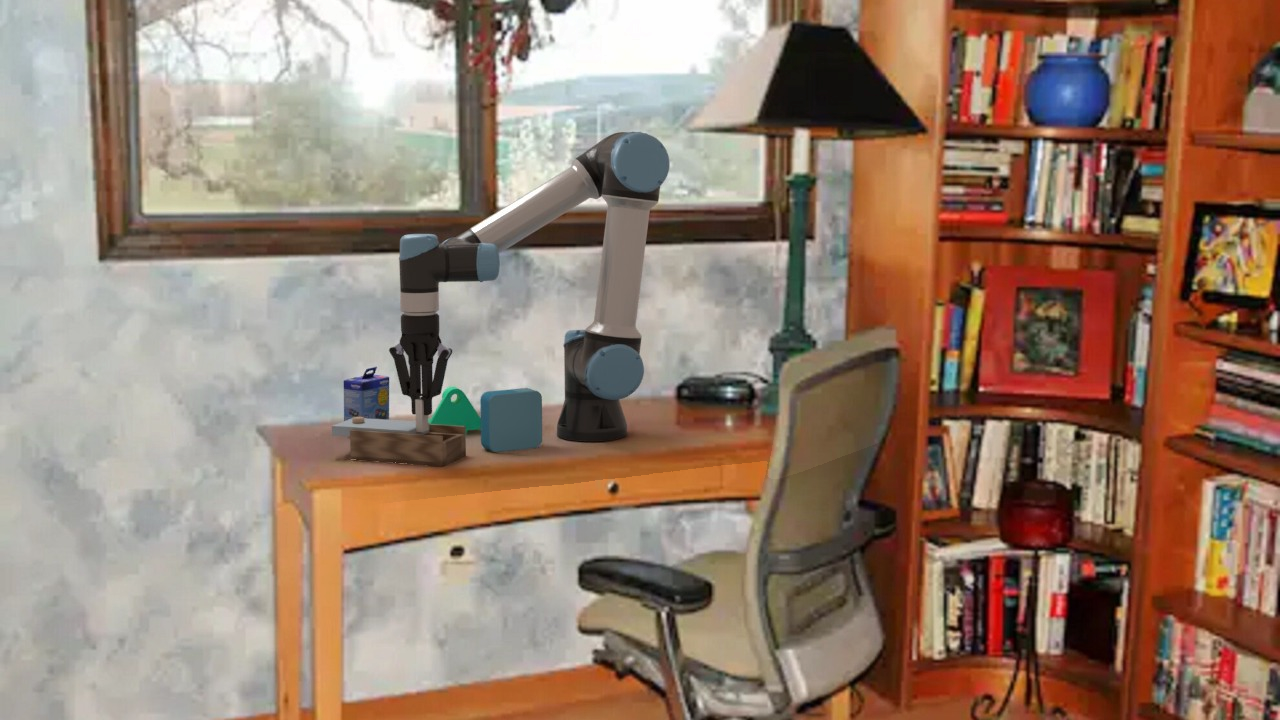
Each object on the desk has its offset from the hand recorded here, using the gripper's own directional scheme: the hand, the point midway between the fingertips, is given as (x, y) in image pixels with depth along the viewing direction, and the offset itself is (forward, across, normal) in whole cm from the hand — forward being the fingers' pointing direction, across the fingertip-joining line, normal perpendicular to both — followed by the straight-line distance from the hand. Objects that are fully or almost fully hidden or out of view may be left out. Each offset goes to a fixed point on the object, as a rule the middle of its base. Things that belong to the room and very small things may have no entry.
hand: (422, 430), depth 305 cm
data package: (+6, -13, -15) cm, 21 cm away
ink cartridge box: (+6, +23, -20) cm, 31 cm away
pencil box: (+6, +3, 0) cm, 7 cm away
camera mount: (+6, +6, -27) cm, 29 cm away
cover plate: (+1, +9, 0) cm, 9 cm away
